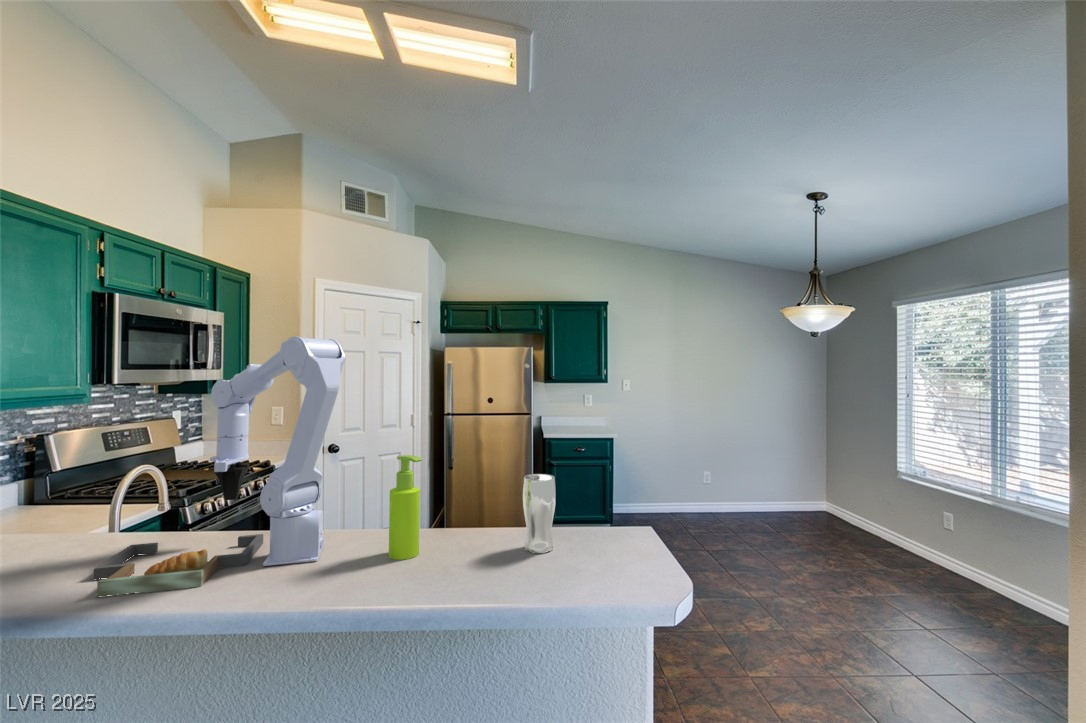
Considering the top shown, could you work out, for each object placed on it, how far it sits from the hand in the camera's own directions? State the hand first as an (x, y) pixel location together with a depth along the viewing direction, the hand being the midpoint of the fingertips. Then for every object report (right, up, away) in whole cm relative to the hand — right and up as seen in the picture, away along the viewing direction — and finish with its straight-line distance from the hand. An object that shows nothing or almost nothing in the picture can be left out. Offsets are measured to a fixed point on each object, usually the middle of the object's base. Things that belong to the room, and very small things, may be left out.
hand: (231, 499), depth 101 cm
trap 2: (+7, -9, -7) cm, 13 cm away
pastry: (+1, -10, -15) cm, 18 cm away
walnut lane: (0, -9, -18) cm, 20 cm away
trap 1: (-12, -9, -12) cm, 19 cm away
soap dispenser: (+39, -10, -6) cm, 41 cm away
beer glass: (+66, -10, -2) cm, 67 cm away
